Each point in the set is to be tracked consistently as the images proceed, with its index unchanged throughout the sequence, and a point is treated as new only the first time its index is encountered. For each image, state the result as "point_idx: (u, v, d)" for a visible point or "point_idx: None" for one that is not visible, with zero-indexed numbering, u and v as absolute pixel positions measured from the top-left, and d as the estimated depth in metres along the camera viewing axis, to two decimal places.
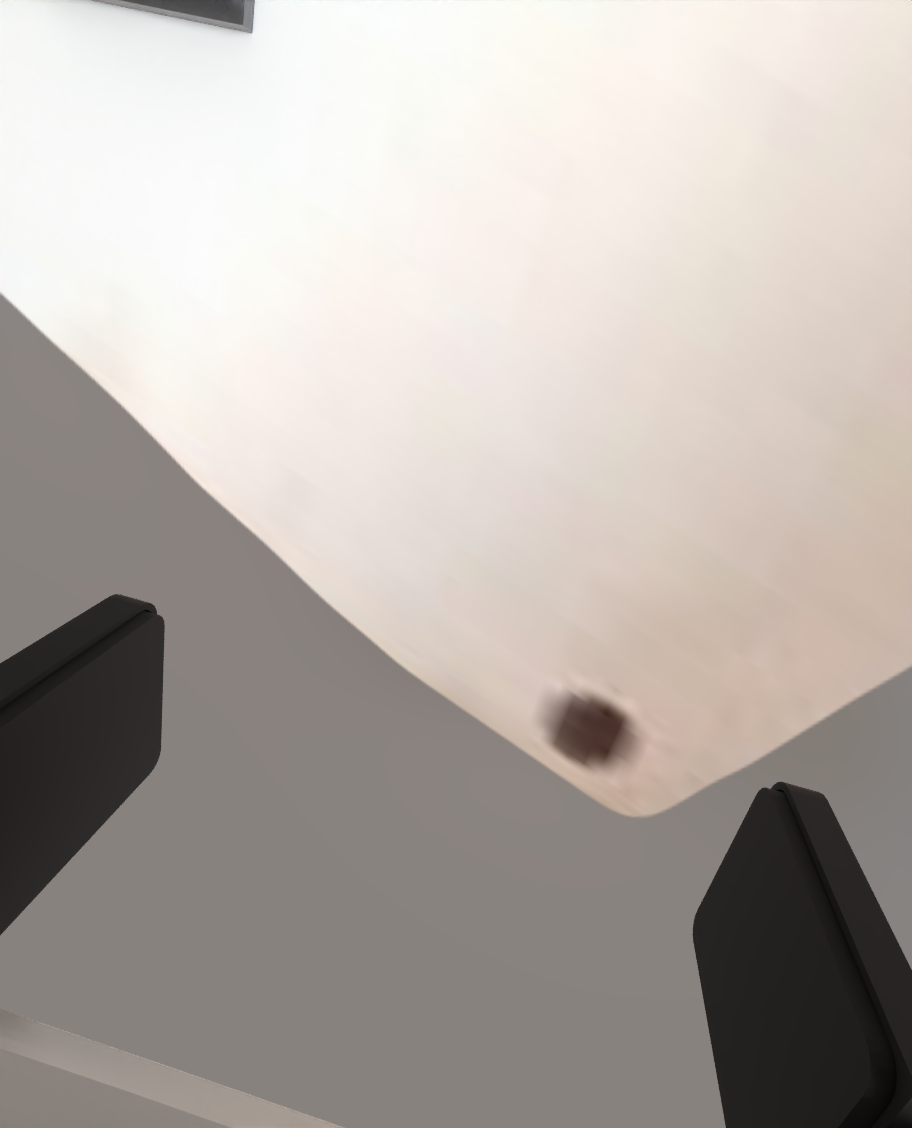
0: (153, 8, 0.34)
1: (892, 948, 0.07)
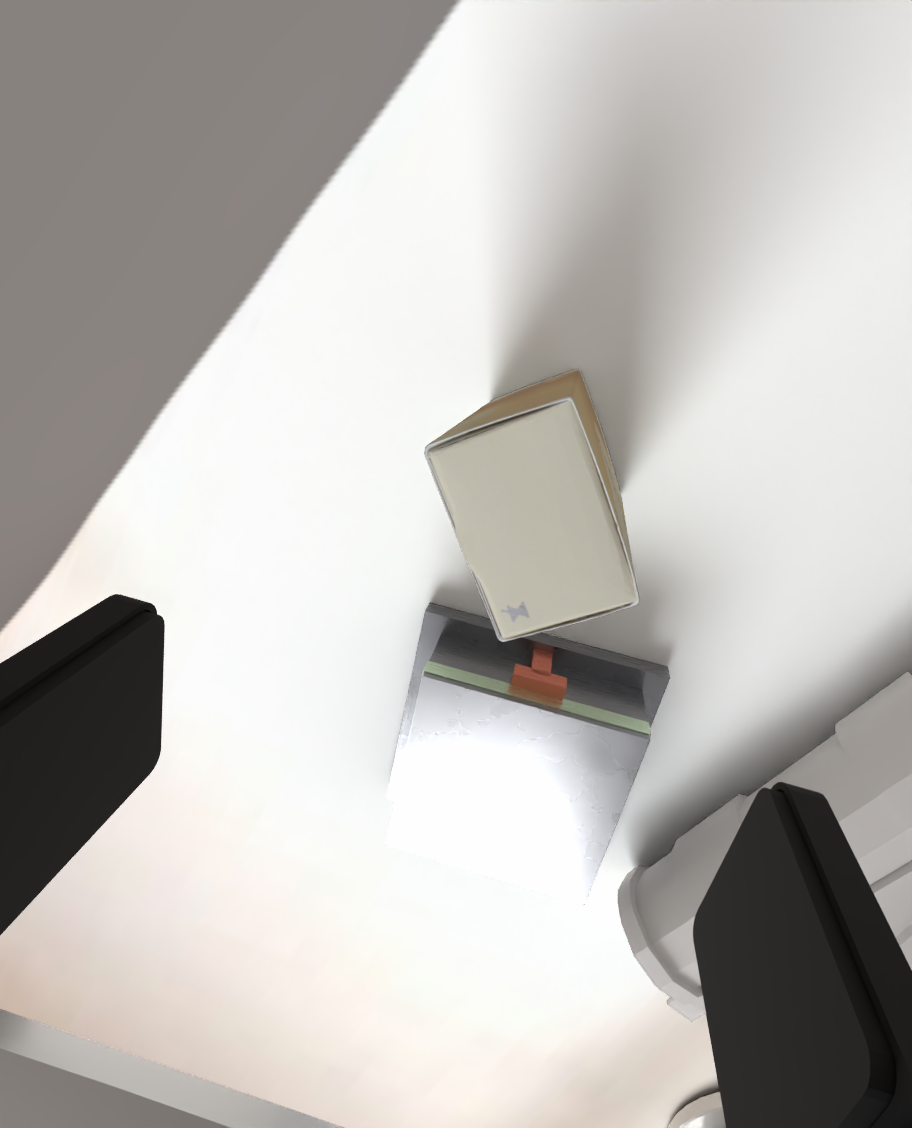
0: None
1: (892, 948, 0.07)
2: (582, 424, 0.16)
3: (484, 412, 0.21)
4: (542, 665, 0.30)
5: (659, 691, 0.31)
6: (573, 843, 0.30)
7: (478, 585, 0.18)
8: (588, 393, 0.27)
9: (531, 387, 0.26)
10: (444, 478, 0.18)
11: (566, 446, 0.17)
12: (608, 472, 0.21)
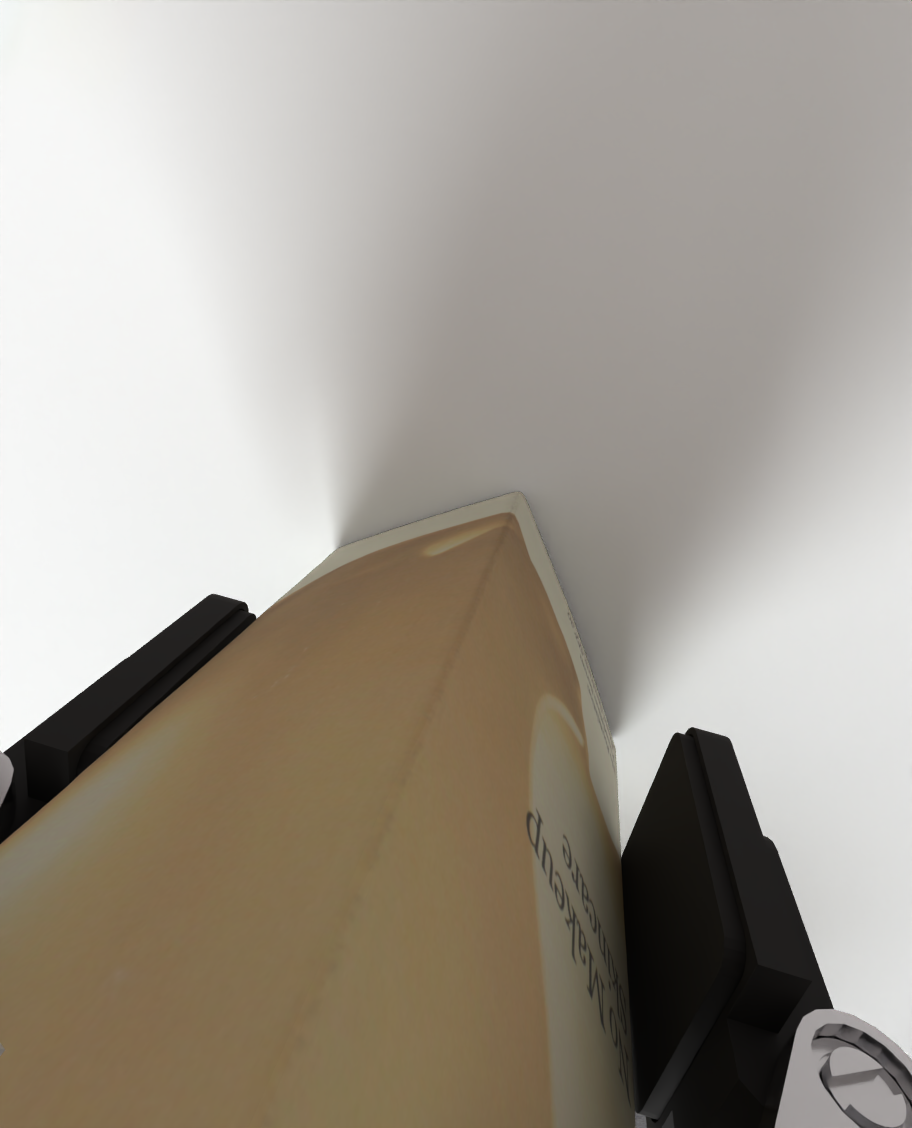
0: None
1: (762, 858, 0.07)
2: None
3: (141, 760, 0.06)
4: None
5: None
6: None
7: None
8: (539, 556, 0.11)
9: (393, 558, 0.10)
10: None
11: None
12: (563, 1000, 0.06)
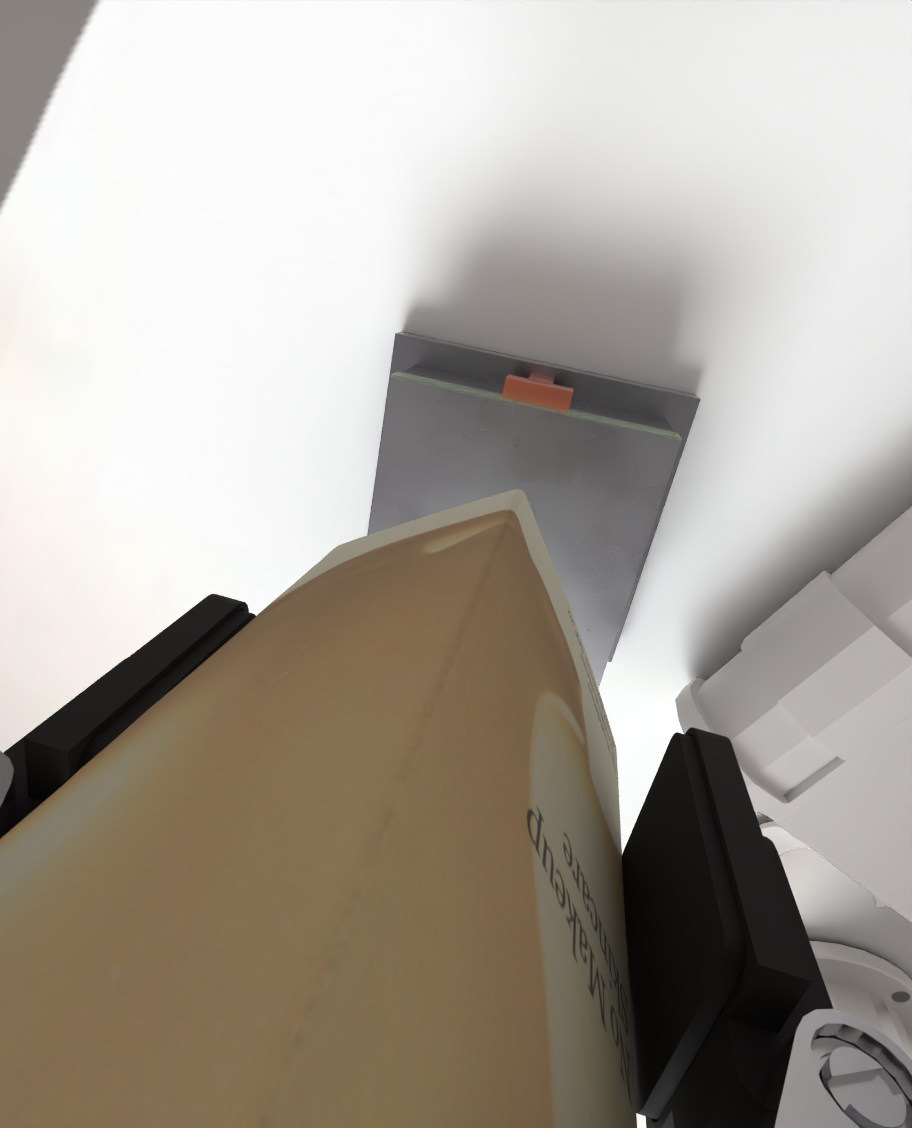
0: None
1: (762, 858, 0.07)
2: None
3: (139, 757, 0.06)
4: (542, 379, 0.24)
5: (687, 419, 0.25)
6: (584, 602, 0.24)
7: None
8: (539, 553, 0.11)
9: (393, 556, 0.10)
10: None
11: None
12: (564, 998, 0.06)
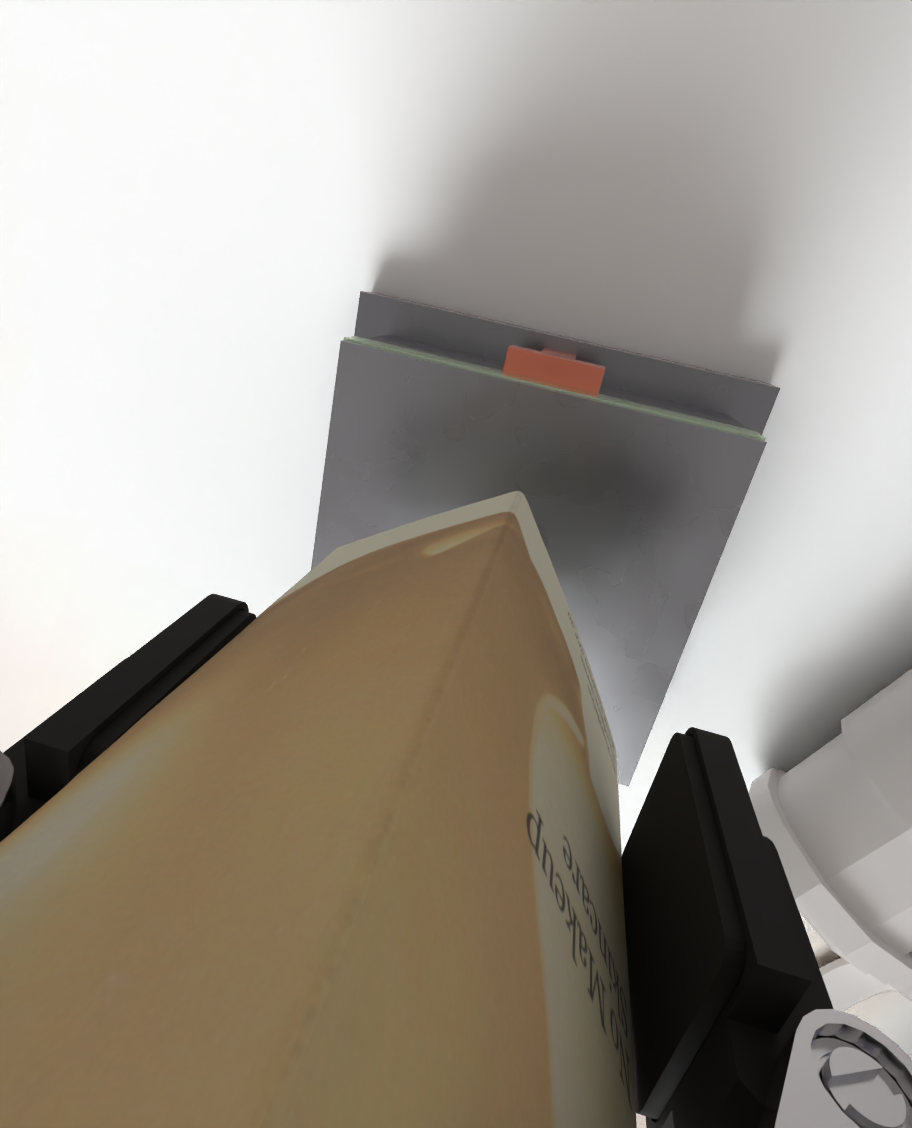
0: None
1: (762, 858, 0.07)
2: None
3: (138, 761, 0.06)
4: (560, 354, 0.17)
5: (759, 417, 0.18)
6: (613, 669, 0.17)
7: None
8: (539, 555, 0.11)
9: (392, 558, 0.10)
10: None
11: None
12: (564, 1003, 0.06)
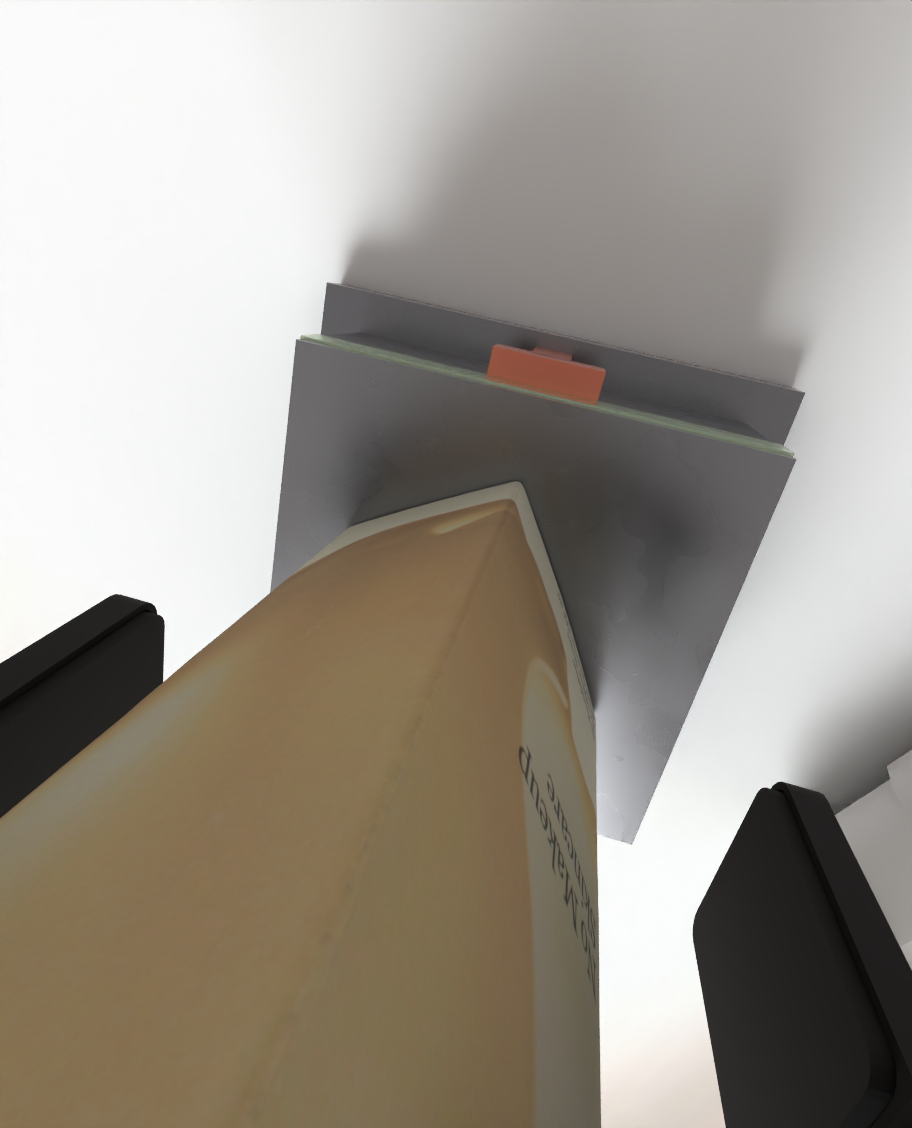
0: None
1: (892, 948, 0.07)
2: None
3: (196, 689, 0.07)
4: (553, 354, 0.15)
5: (781, 425, 0.16)
6: (614, 716, 0.15)
7: None
8: (534, 540, 0.13)
9: (404, 536, 0.11)
10: None
11: None
12: (544, 896, 0.07)
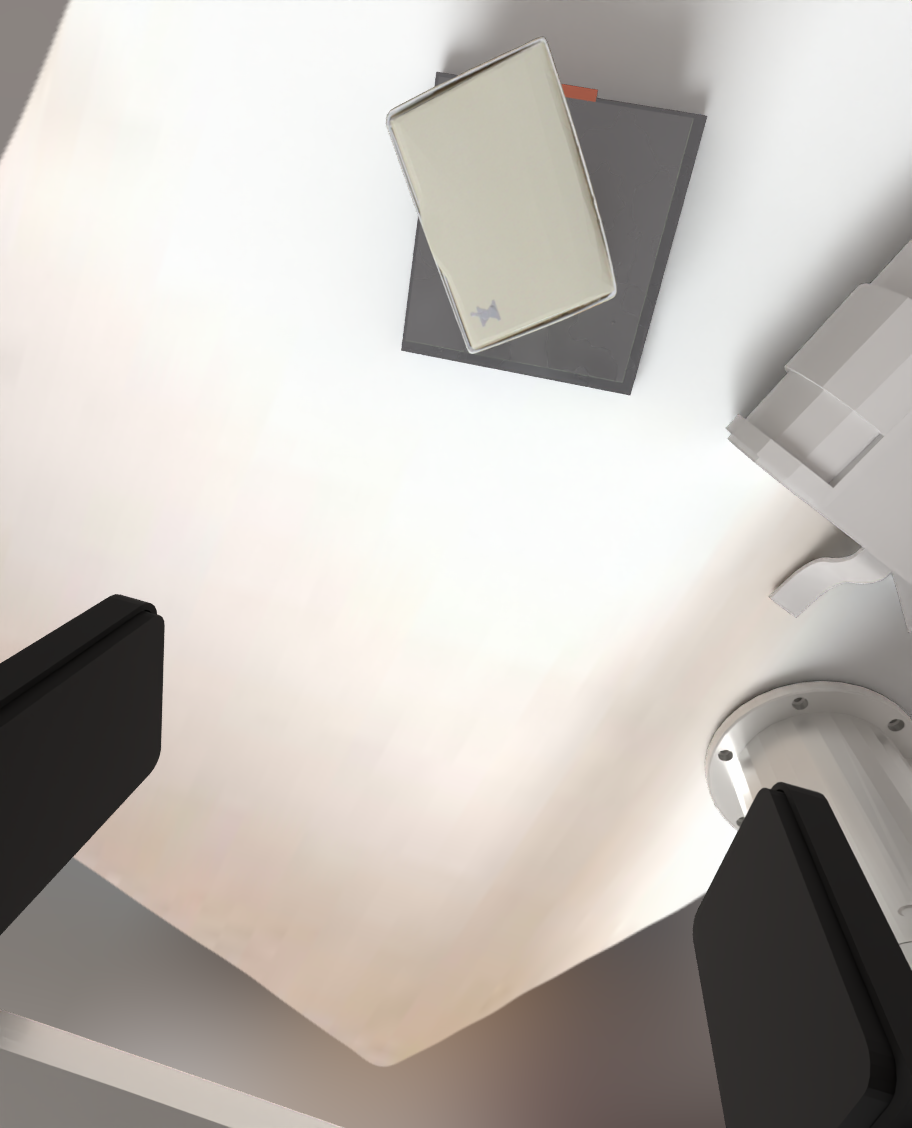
0: None
1: (891, 947, 0.07)
2: (556, 72, 0.15)
3: None
4: None
5: (695, 137, 0.28)
6: None
7: (446, 286, 0.17)
8: None
9: None
10: (408, 151, 0.16)
11: (538, 101, 0.15)
12: None
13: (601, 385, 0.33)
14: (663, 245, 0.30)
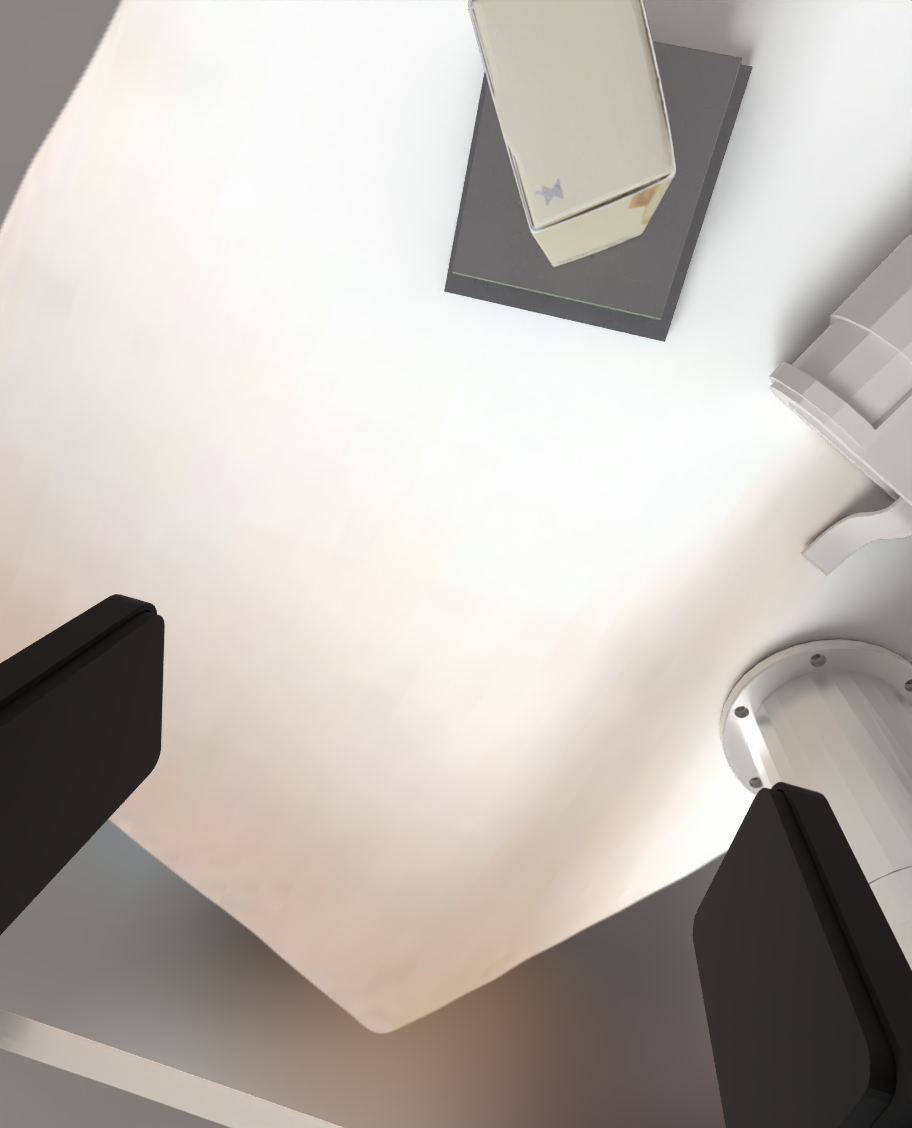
0: None
1: (892, 948, 0.07)
2: None
3: None
4: None
5: (740, 87, 0.30)
6: (652, 229, 0.29)
7: (513, 166, 0.18)
8: None
9: None
10: (487, 32, 0.17)
11: None
12: None
13: (637, 331, 0.34)
14: (704, 193, 0.31)
